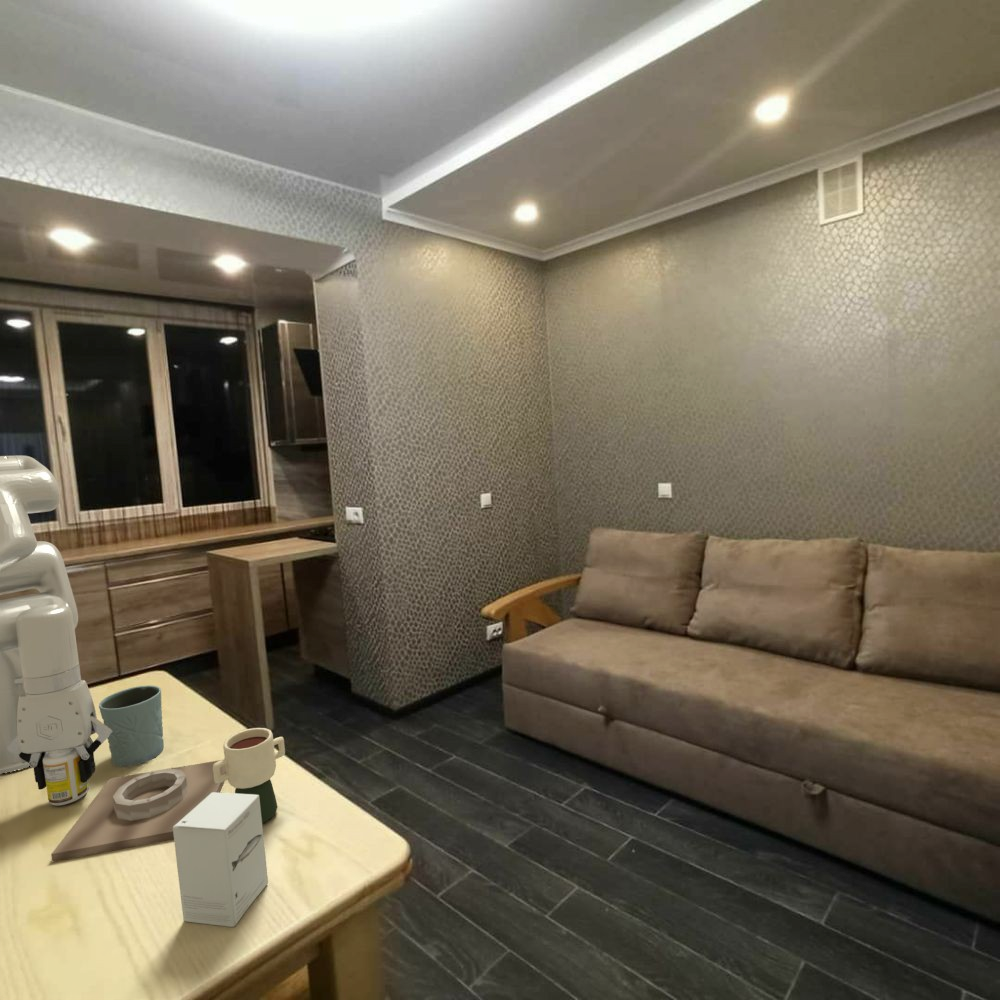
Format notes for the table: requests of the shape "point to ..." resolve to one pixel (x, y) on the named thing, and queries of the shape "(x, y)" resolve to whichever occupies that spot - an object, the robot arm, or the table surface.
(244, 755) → the character mug
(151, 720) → the blue-grey plant pot
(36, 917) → the table surface
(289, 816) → the table surface
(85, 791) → the supplement bottle
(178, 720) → the table surface
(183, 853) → the supplement box
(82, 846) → the collar board
